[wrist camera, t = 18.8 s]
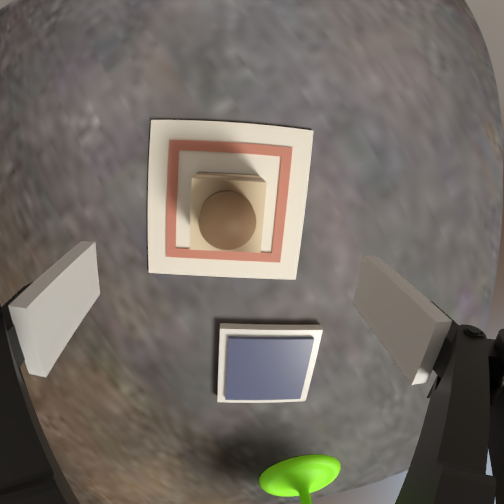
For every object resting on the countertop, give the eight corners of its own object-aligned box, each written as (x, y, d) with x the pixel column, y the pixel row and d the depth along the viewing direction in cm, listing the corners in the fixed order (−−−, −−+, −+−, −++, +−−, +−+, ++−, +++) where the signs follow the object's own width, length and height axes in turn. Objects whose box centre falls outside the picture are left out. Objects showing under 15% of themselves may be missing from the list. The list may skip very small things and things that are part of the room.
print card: (149, 271, 34) (148, 273, 34) (151, 119, 29) (150, 119, 28) (294, 278, 36) (295, 280, 35) (312, 130, 31) (313, 130, 30)
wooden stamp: (195, 230, 33) (187, 258, 25) (197, 171, 31) (189, 181, 23) (254, 233, 33) (263, 261, 26) (258, 174, 31) (270, 185, 24)
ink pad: (217, 396, 41) (217, 404, 39) (220, 323, 37) (220, 330, 35) (303, 395, 42) (306, 403, 40) (320, 324, 38) (323, 332, 37)
